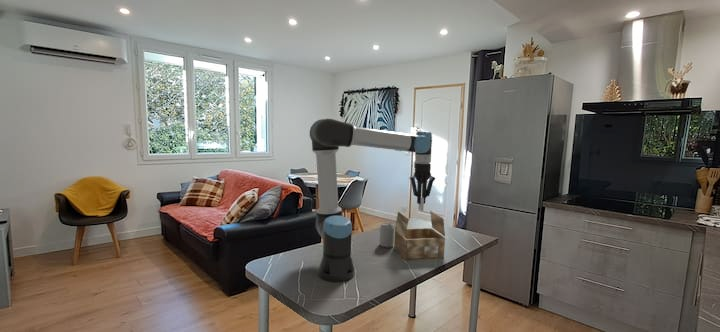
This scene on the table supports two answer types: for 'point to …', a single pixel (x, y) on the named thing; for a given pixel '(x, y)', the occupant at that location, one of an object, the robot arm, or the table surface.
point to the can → (387, 235)
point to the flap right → (437, 223)
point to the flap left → (401, 224)
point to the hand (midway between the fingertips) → (420, 210)
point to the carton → (420, 244)
